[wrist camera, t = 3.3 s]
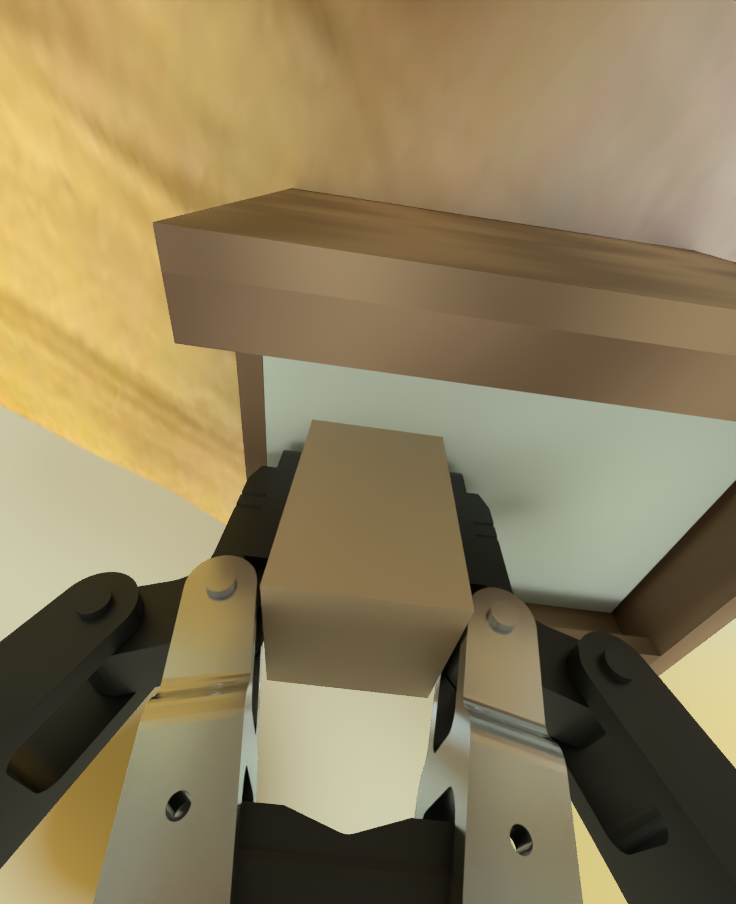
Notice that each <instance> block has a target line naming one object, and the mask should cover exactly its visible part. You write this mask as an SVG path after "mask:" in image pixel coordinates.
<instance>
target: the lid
mask: <svg viewBox="0 0 736 904" xmlns="http://www.w3.org/2000/svg"><path fill="white" fill-rule="evenodd" d="M263 375H264V398H265V422H266V446H267V466H270V467H277V466H278V463H279V461H280V458H281V455H282V453H283V451H284V450H290V451H298V452H302V454H301V457H300V460H299V463H298V467H297V470H296V473H295V476H294V479H293V482H292V486H291V489H290V492H289V495H288V498H287V501H286V505H285V508H284V511H283V514H282V517H281V520H280V524H279V527H278V530H277V533H276V536H275V539H274V543H273V546H272V549H271V552H270V555H269V558H268V562H267V565H266V568H265V571H264V574H263V577H262V581H261V584H260V593H261V606H262V619H263V632H264V646H265V659H266V672H267V680H272V681H281V682H290V683H298V684H307V685H316V686H325V687H334V688H344V689H352V690H361V691H370V692H379V693H388V694H397V695H406V696H415V697H424V698H428V696H429V694H430V693H431V691H432V689H433V687H434V685H435V683H436V681H437V680H438V678H439V676H440V674H441V672H442V670H443V669H444V667H445V665H446V663H447V661H448V659H449V657H450V656H451V654H452V652H453V650H454V648H455V646H456V645H457V643H458V641H459V639H460V637H461V635H462V633H463V632H464V630H465V628H466V626H467V624H468V622H469V621H470V619H471V617H472V615H473V613H474V606H473V600H472V595H471V589H470V584H469V578H468V573H467V567H466V562H465V556H464V551H463V545H462V540H461V534H460V529H459V523H458V518H457V512H456V507H455V501H454V496H453V490H452V485H451V479H450V474H449V472H455V473H461V474H462V475H463V478H464V483H465V487H466V492H467V493H474V494H479V496H480V497H481V498H482V499H483V501H484V502H485V503H486V505H487V506H488V507H489V509H490V512H491V516H492V519H493V523H494V525H493V527H495V530H496V534H497V540H498V541H499V544H500V548H501V552H502V555H503V559H504V562H505V566H506V569H507V573H508V577H509V580H510V584H511V587H512V590H513V593H514V595H515V596H517V597H518V598H519V599H520V600H522V601H523V602H524V603H532V604H541V605H549V606H557V607H565V608H574V609H582V610H590V611H598V612H607V613H611V612H612V611H613V610H614V609H615V608H616V607H617V606H618V605H619V604H620V602H621V601H622V600H623V599H624V598H625V597H626V596H627V595H628V594H629V593H630V592H631V591H632V590H633V589H634V588H635V587H636V585H637V584H638V583H639V582H640V581H641V580H642V579H643V578H644V577H645V576H646V575H647V574H648V573H649V572H650V571H651V570H652V568H653V567H654V566H655V565H656V564H657V563H658V562H659V561H660V560H661V559H662V558H663V557H664V556H665V555H666V554H667V553H668V551H669V550H670V549H671V548H672V547H673V546H674V545H675V544H676V543H677V542H678V541H679V540H680V539H681V538H682V537H683V536H684V534H685V533H686V532H687V531H688V530H689V529H690V528H691V527H692V526H693V525H694V524H695V523H696V522H697V521H698V520H699V519H700V517H701V516H702V515H703V514H704V513H705V512H706V511H707V510H708V509H709V508H710V507H711V506H712V505H713V504H714V503H715V502H716V500H717V499H718V498H719V497H720V496H721V495H722V494H723V493H724V492H725V491H726V490H727V489H728V488H729V487H730V486H731V485H732V483H733V482H734V481H735V480H736V422H735V421H728V420H720V419H713V418H706V417H699V416H692V415H685V414H678V413H670V412H663V411H656V410H649V409H642V408H635V407H628V406H620V405H613V404H606V403H599V402H592V401H585V400H577V399H570V398H563V397H556V396H549V395H542V394H535V393H527V392H520V391H513V390H506V389H499V388H492V387H485V386H477V385H470V384H463V383H456V382H449V381H442V380H434V379H427V378H420V377H413V376H406V375H399V374H392V373H384V372H377V371H370V370H363V369H356V368H349V367H342V366H334V365H327V364H320V363H313V362H306V361H299V360H292V359H284V358H277V357H270V356H263Z"/></svg>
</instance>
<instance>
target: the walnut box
mask: <svg viewBox="0 0 736 904" xmlns="http://www.w3.org/2000/svg"><path fill="white" fill-rule="evenodd" d="M153 227H154V233H155V238H156V244H157V249H158V254H159V260H160V265H161V271H162V276H163V281H164V287H165V292H166V298H167V303H168V309H169V314H170V319H171V325H172V330H173V336H174V341H175V343H177V344H184V345H191V346H199V347H206V348H213V349H220V350H227V351H234V352H236V361H237V373H238V384H239V396H240V407H241V419H242V430H243V442H244V453H245V465H246V476H247V480H248V478H249V476H251V475H252V474H253V473H254V472H255V471H256V470H258V469H259V468H260V467H261V466H267V446H266V422H265V398H264V375H263V356H270V357H277V358H284V359H292V360H299V361H306V362H313V363H320V364H327V365H334V366H342V367H349V368H356V369H363V370H370V371H377V372H384V373H392V374H399V375H406V376H413V377H420V378H427V379H434V380H442V381H449V382H456V383H463V384H470V385H477V386H485V387H492V388H499V389H506V390H513V391H520V392H527V393H535V394H542V395H549V396H556V397H563V398H570V399H577V400H585V401H592V402H599V403H606V404H613V405H620V406H628V407H635V408H642V409H649V410H656V411H663V412H670V413H678V414H685V415H692V416H699V417H706V418H713V419H720V420H728V421H735V422H736V263H735V262H731V261H728V260H724V259H721V258H718V257H714V256H711V255H707V254H704V253H700V252H697V251H693V250H686V249H680V248H673V247H667V246H660V245H654V244H648V243H641V242H635V241H628V240H622V239H615V238H609V237H602V236H596V235H589V234H583V233H577V232H570V231H564V230H557V229H551V228H544V227H538V226H531V225H525V224H519V223H512V222H506V221H499V220H493V219H486V218H480V217H473V216H467V215H460V214H454V213H448V212H441V211H435V210H428V209H422V208H415V207H409V206H402V205H396V204H389V203H383V202H377V201H370V200H364V199H357V198H351V197H344V196H338V195H331V194H325V193H318V192H312V191H306V190H299V189H293V188H292V189H287V190H283V191H279V192H275V193H271V194H267V195H263V196H259V197H255V198H251V199H246V200H242V201H238V202H234V203H230V204H226V205H222V206H218V207H214V208H209V209H205V210H201V211H197V212H193V213H189V214H185V215H181V216H177V217H173V218H168V219H164V220H160V221H156V222H153ZM525 605H526V606H527V607H528V608H529V610H530V611H531V613H532V615H533V617H534V619H536V620H537V621H539V622H540V623H542V624H544V625H546V626H548V627H550V628H553V629H555V630H557V631H560V632H562V633H564V634H567V635H569V636H571V637H574V638H576V639H578V640H581V638H582V637H583V636H585V635H586V634H588V633H590V632H594V631H600V632H606V633H609V634H612V635H614V636H616V637H618V638H620V639H622V640H623V641H625V642H626V643H628V644H629V645H630V646H632V647H633V648H634V649H635V650H636V651H637V652H638V653H639V654H640V655H641V656H642V658H643V659H644V660H645V661H646V662H647V663H648V665H649V666H650V667H651V668H652V669H653V671H654V672H655V673H656V674H657V675H658V676H659V675H660V674H662V673H663V672H664V671H666V670H667V669H668V668H670V667H671V666H672V665H674V664H675V663H676V662H677V661H679V660H680V659H682V658H683V657H684V656H686V655H687V654H688V653H690V652H691V651H692V650H694V649H695V648H696V647H697V646H699V645H700V644H701V643H703V642H704V641H706V640H707V639H708V638H709V637H711V636H712V635H713V634H715V633H716V632H717V631H719V630H720V629H721V628H723V627H724V626H725V625H727V624H728V623H729V622H731V621H732V620H733V619H735V618H736V480H735V481H734V482H733V483H732V485H731V486H730V487H729V488H728V489H727V490H726V491H725V492H724V493H723V494H722V495H721V496H720V497H719V498H718V499H717V500H716V502H715V503H714V504H713V505H712V506H711V507H710V508H709V509H708V510H707V511H706V512H705V513H704V514H703V515H702V516H701V517H700V519H699V520H698V521H697V522H696V523H695V524H694V525H693V526H692V527H691V528H690V529H689V530H688V531H687V532H686V533H685V534H684V536H683V537H682V538H681V539H680V540H679V541H678V542H677V543H676V544H675V545H674V546H673V547H672V548H671V549H670V550H669V551H668V553H667V554H666V555H665V556H664V557H663V558H662V559H661V560H660V561H659V562H658V563H657V564H656V565H655V566H654V567H653V568H652V570H651V571H650V572H649V573H648V574H647V575H646V576H645V577H644V578H643V579H642V580H641V581H640V582H639V583H638V584H637V585H636V587H635V588H634V589H633V590H632V591H631V592H630V593H629V594H628V595H627V596H626V597H625V598H624V599H623V600H622V601H621V602H620V604H619V605H618V606H617V607H616V608H615V609H614V610H613V611H612V612H611V613H607V612H598V611H590V610H582V609H574V608H565V607H557V606H549V605H541V604H532V603H525Z"/></svg>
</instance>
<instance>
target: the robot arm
mask: <svg viewBox="0 0 736 904" xmlns="http://www.w3.org/2000/svg"><path fill="white" fill-rule="evenodd" d="M301 454H302V452H298V451H290V450H284V451H283V453H282V455H281V458H280V461H279V463H278V466H277V467H270V466H261V467H260V468H259V469H258V470H256V471H255V472H254V473H253V474H252V475H251V476H249V478H248V480H247V482H246V484H245V486H244V489H243V491H242V495H240V497H239V500H238V502H237V505H236V507H235V508H234V510H233V513H232V515H231V517H230V519H229V521H228V524H227V526H226V528H225V530H224V532H223V534H222V537H221V539H220V541H219V543H218V545H217V548H216V550H215V552H214V554H213V555H212V557H211V558H210V559H209V560H207V561H205V562H203V563H201V564H200V565H199V566H197V567H196V568H195V569H194V570H193V571H192V572H191V573H190V575H189V576H187V577H184V578H181V579H179V580H174V581H169V582H163V583H157V584H151V585H145V586H140V587H137V584H136V582H135V581H134V580H133V579H132V578H131V577H129V576H127V575H125V574H122V573H118V572H107V573H100V574H96V575H93V576H90V577H88V578H85V579H83V580H81V581H79V582H77V583H76V584H74V585H73V586H71V587H70V588H69V589H67V590H66V591H65V592H64V593H62V594H61V595H60V596H58V597H57V598H56V599H55V600H53V601H52V602H51V603H49V604H48V605H47V606H46V607H44V608H43V609H42V610H40V611H39V612H38V613H37V614H35V615H34V616H33V617H32V618H30V619H29V620H28V621H26V622H25V623H24V624H22V625H21V626H20V627H19V628H18V629H16V630H15V631H14V632H12V633H11V634H10V635H8V636H7V637H6V638H5V639H3V640H2V641H1V642H0V868H1V867H2V866H3V865H4V864H5V863H6V862H7V860H8V859H9V858H10V857H11V856H12V855H13V853H14V852H15V851H16V850H17V849H18V848H19V846H20V845H21V844H22V843H23V842H24V840H25V839H26V838H27V837H28V836H29V835H30V833H31V832H32V831H33V830H34V829H35V827H36V826H37V825H38V824H39V823H40V822H41V820H42V819H43V818H44V817H45V816H46V815H47V813H48V812H49V811H50V810H51V809H52V808H53V806H54V805H55V804H56V803H57V802H58V801H59V799H60V798H61V797H62V796H63V795H64V793H65V792H66V791H67V790H68V789H69V788H70V786H71V785H72V784H73V783H74V782H75V781H76V779H77V778H78V777H79V776H80V775H81V773H82V772H83V771H84V770H85V769H86V767H87V766H88V765H89V764H90V763H91V762H92V760H93V759H94V758H95V757H96V756H97V755H98V754H99V752H100V751H101V750H102V749H103V748H104V746H105V745H106V744H107V743H108V742H109V741H110V739H111V738H112V737H113V736H114V735H115V733H116V732H117V731H118V730H119V729H120V727H121V726H122V725H123V724H124V723H125V722H126V721H127V719H128V718H129V717H130V716H131V715H132V714H133V712H134V711H135V710H136V709H137V707H139V705H140V704H141V703H142V702H143V701H144V699H145V698H146V697H147V696H148V695H149V694H150V692H151V691H152V690H153V689H154V688H155V687H158V686H160V688H159V691H158V693H157V694H156V695H155V696H154V697H152V698H151V699H150V700H149V702H148V703H147V705H146V707H145V709H144V712H143V714H142V717H141V720H140V723H139V727H138V730H137V734H136V738H135V742H134V746H133V750H132V754H131V758H130V761H129V765H128V769H127V773H126V777H125V781H124V785H123V789H122V793H121V796H120V801H119V804H118V809H117V812H116V816H115V820H114V824H113V828H112V832H111V836H110V839H109V843H108V847H107V852H106V855H105V859H104V863H103V867H102V870H101V875H100V878H99V882H98V886H97V890H96V894H95V898H94V902H93V904H583V900H582V892H581V883H580V875H579V866H578V858H577V850H576V842H575V833H574V825H573V817H572V808H571V801H572V803H573V804H574V806H575V808H576V810H577V812H578V814H579V815H580V817H581V819H582V821H583V823H584V824H585V826H586V828H587V830H588V832H589V833H590V835H591V837H592V839H593V841H594V843H595V844H596V846H597V848H598V850H599V852H600V854H601V855H602V857H603V859H604V861H605V863H606V864H607V866H608V868H609V870H610V872H611V873H612V875H613V877H614V879H615V881H616V882H617V884H618V886H619V888H620V890H621V892H622V893H623V895H624V897H625V899H626V901H627V903H628V904H736V769H735V768H734V766H733V765H732V764H731V763H730V761H729V760H728V759H727V758H726V757H725V756H724V754H723V753H722V752H721V751H720V749H719V748H718V747H717V746H716V745H715V744H714V743H713V741H712V740H711V739H710V738H709V736H708V735H707V734H706V733H705V732H704V730H703V729H702V728H701V727H700V726H699V724H698V723H697V722H696V721H695V720H694V719H693V717H692V716H691V715H690V714H689V712H688V711H687V710H686V709H685V708H684V706H683V705H682V704H681V703H680V702H679V701H678V700H677V698H676V697H675V696H674V695H673V693H672V692H671V691H670V690H669V689H668V687H667V686H666V685H665V684H664V683H663V682H662V680H661V679H660V678H659V677H658V675H657V674H656V673H655V672H654V671H653V669H652V668H651V667H650V666H649V665H648V663H647V662H646V661H645V660H644V659H643V658H642V656H641V655H640V654H639V653H638V652H637V651H636V650H635V649H634V648H633V647H632V646H630V645H629V644H628V643H626V642H625V641H623V640H622V639H620V638H618V637H616V636H614V635H612V634H609V633H606V632H600V631H594V632H590V633H588V634H586V635H585V636H583V637H582V638H581V640H578V639H576V638H574V637H571V636H569V635H567V634H564V633H562V632H560V631H557V630H555V629H553V628H550V627H548V626H546V625H544V624H542V623H540V622H539V621H537V620H536V619H534V617H533V615H532V613H531V611H530V610H529V608H528V607H527V606H526V605H525V603H524V602H523V601H522V600H520V599H519V598H518V597H517V596H515V595H514V593H513V590H512V587H511V584H510V580H509V577H508V573H507V569H506V566H505V562H504V559H503V555H502V552H501V548H500V544H499V541H498V540H497V534H496V530H495V527H493V525H494V523H493V519H492V516H491V512H490V509H489V507H488V506H487V505H486V503H485V502H484V501H483V499H482V498H481V497H480V496H479V494H474V493H467V492H466V487H465V483H464V478H463V475H462V474H461V473H455V472H449V474H450V479H451V485H452V490H453V496H454V501H455V507H456V512H457V518H458V523H459V529H460V534H461V540H462V545H463V551H464V556H465V562H466V567H467V573H468V578H469V584H470V589H471V595H472V600H473V606H474V613H473V615H472V617H471V619H470V621H469V622H468V624H467V626H466V628H465V630H464V632H463V633H462V635H461V637H460V639H459V641H458V643H457V645H456V646H455V648H454V650H453V652H452V654H451V656H450V657H449V659H448V661H447V663H446V665H445V667H444V669H443V670H442V672H441V674H440V676H439V678H438V680H437V681H436V687H435V694H434V702H433V711H432V720H431V727H430V736H429V744H428V752H427V757H426V761H425V765H424V768H423V772H422V775H421V780H420V785H419V789H418V796H417V803H416V810H415V818H410V819H406V820H403V821H399V822H395V823H392V824H388V825H384V826H381V827H377V828H373V829H370V830H366V831H362V832H359V833H355V834H350V835H348V834H343V833H340V832H337V831H336V830H333V829H331V828H329V827H327V826H325V825H323V824H321V823H319V822H317V821H315V820H313V819H311V818H309V817H307V816H305V815H303V814H300V813H299V812H296V811H295V810H292V809H291V808H288V807H286V806H284V805H276V804H266V803H257V802H256V801H257V780H258V726H259V725H258V724H259V704H260V684H261V665H262V644H263V641H264V632H263V619H262V606H261V593H260V584H261V581H262V577H263V574H264V571H265V568H266V565H267V562H268V558H269V555H270V552H271V549H272V546H273V543H274V539H275V536H276V533H277V530H278V527H279V524H280V520H281V517H282V514H283V511H284V508H285V505H286V501H287V498H288V495H289V492H290V489H291V486H292V482H293V479H294V476H295V473H296V470H297V467H298V463H299V460H300V457H301ZM510 838H511V839H512V840H513V842H514V844H515V846H516V851H515V849H514V848H513V846H512V844H511V841H510Z"/></svg>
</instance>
